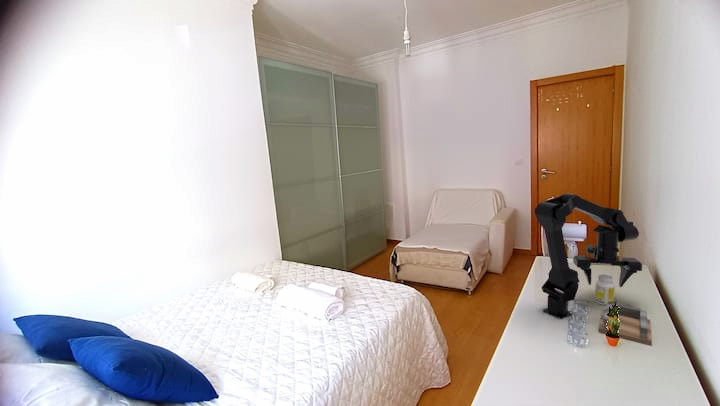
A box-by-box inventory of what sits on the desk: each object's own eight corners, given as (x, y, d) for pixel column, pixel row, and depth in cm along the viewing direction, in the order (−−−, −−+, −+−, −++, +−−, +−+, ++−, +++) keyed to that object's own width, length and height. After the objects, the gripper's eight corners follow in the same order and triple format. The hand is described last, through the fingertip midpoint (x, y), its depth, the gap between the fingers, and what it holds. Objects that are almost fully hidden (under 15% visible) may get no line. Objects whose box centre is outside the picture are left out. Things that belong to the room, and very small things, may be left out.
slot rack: (651, 345, 90) (652, 331, 90) (598, 332, 98) (599, 319, 97) (649, 323, 101) (650, 310, 100) (602, 312, 108) (602, 301, 108)
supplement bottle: (611, 300, 116) (613, 274, 115) (615, 307, 111) (616, 280, 110) (593, 297, 119) (594, 272, 117) (596, 304, 114) (597, 278, 112)
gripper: (629, 237, 116) (626, 278, 118) (569, 236, 122) (568, 275, 125) (644, 247, 105) (641, 291, 108) (578, 245, 112) (576, 287, 114)
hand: (604, 285), depth 114 cm, fingers open, 9 cm apart
